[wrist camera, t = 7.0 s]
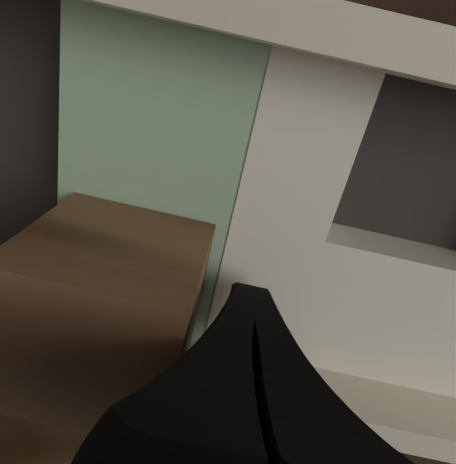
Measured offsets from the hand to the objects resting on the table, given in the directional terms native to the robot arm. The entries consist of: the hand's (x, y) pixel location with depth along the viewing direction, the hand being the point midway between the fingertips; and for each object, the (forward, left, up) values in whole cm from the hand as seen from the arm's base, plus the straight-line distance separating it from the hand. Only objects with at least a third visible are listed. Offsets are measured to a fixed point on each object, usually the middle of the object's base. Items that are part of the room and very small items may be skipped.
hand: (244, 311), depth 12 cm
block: (0, +4, -1) cm, 4 cm away
